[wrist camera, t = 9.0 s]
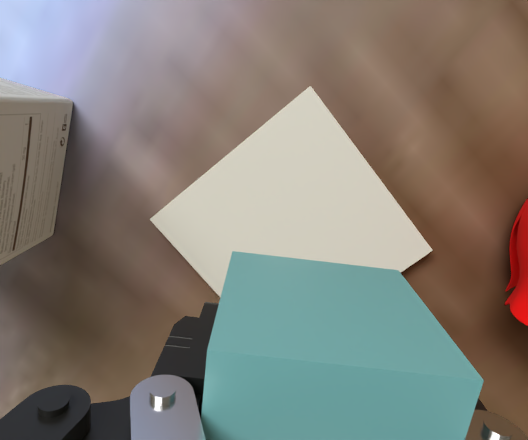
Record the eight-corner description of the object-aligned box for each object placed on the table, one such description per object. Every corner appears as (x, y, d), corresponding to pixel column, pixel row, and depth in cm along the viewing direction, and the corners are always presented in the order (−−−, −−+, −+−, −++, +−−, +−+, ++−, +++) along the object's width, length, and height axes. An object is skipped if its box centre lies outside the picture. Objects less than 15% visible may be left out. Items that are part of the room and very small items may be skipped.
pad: (426, 245, 25) (432, 250, 24) (275, 349, 27) (275, 358, 26) (309, 86, 23) (310, 85, 22) (154, 215, 25) (149, 219, 24)
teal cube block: (398, 270, 12) (484, 380, 7) (366, 407, 13) (421, 576, 9) (232, 250, 12) (207, 349, 7) (218, 391, 13) (189, 553, 8)
